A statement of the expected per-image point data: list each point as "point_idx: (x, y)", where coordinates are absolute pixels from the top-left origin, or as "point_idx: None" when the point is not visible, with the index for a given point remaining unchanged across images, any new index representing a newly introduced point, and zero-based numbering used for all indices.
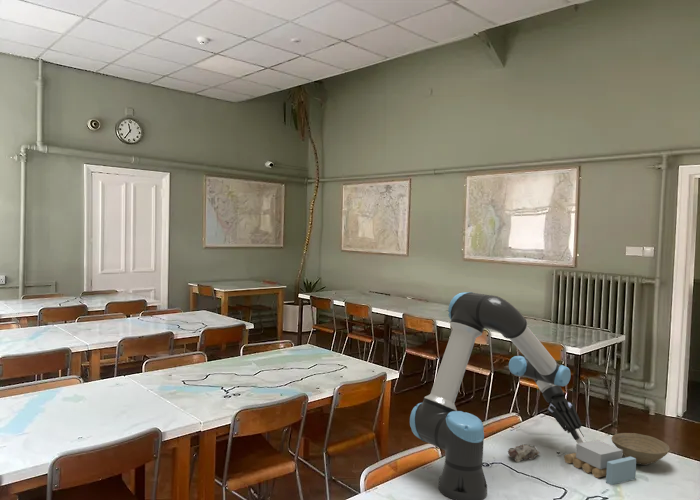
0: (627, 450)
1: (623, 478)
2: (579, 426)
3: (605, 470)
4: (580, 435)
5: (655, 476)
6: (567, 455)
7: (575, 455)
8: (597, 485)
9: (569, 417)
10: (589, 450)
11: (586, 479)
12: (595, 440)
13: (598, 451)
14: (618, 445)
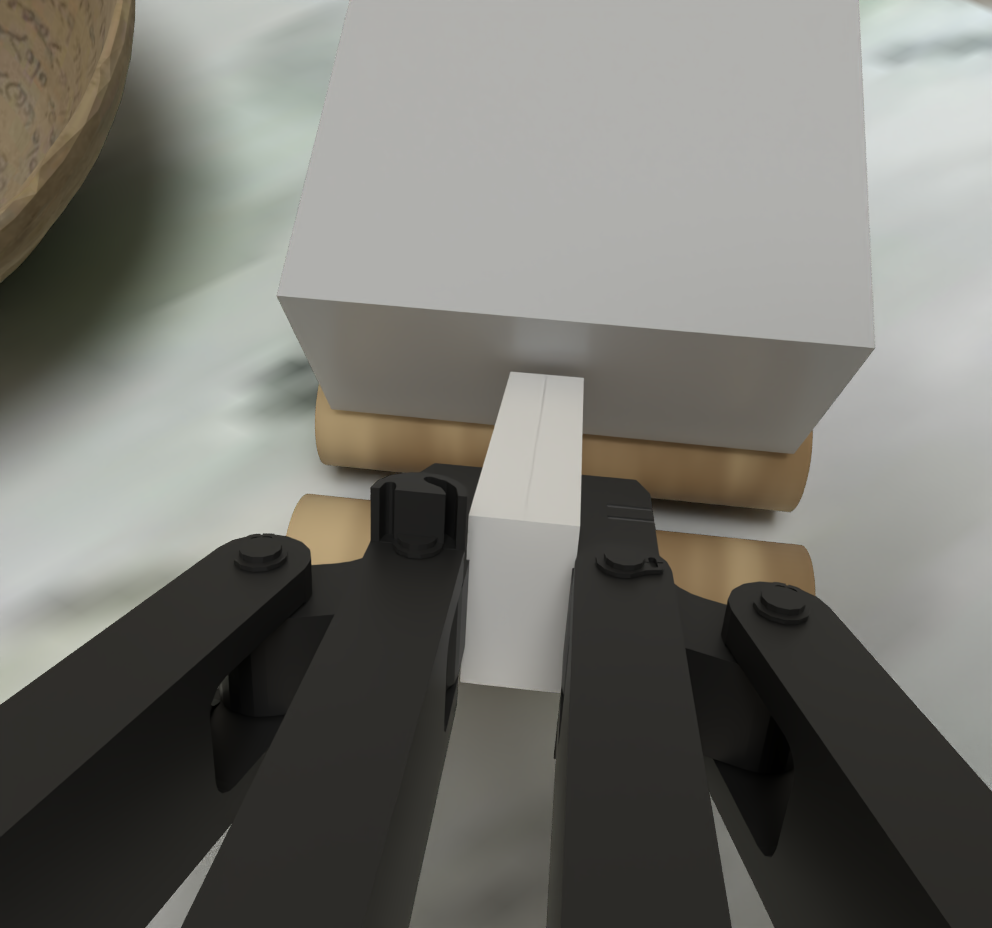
0: (130, 50)
1: None
2: (432, 486)
3: None
4: (549, 449)
5: (177, 13)
6: (813, 594)
7: (677, 543)
8: (922, 129)
9: (389, 878)
10: (858, 120)
11: (923, 245)
12: (358, 291)
13: (778, 23)
14: (88, 146)
